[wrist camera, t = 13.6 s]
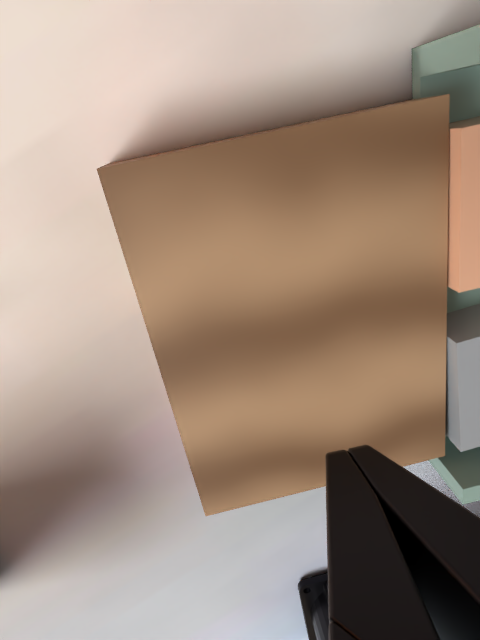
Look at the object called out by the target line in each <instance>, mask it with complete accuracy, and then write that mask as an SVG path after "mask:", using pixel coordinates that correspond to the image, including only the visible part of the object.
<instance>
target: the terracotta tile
mask: <svg viewBox="0 0 480 640" xmlns="http://www.w3.org/2000/svg"><path fill="white" fill-rule="evenodd" d="M447 286H448V287H450V288H451V289H453V290H455V291H457V292H458V293H460V292H464V291H468V290H473V289H477V288H480V116H478V117H474V118H470V119H465V120H461V121H456V122H452V123H449V180H448V259H447Z"/></svg>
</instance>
